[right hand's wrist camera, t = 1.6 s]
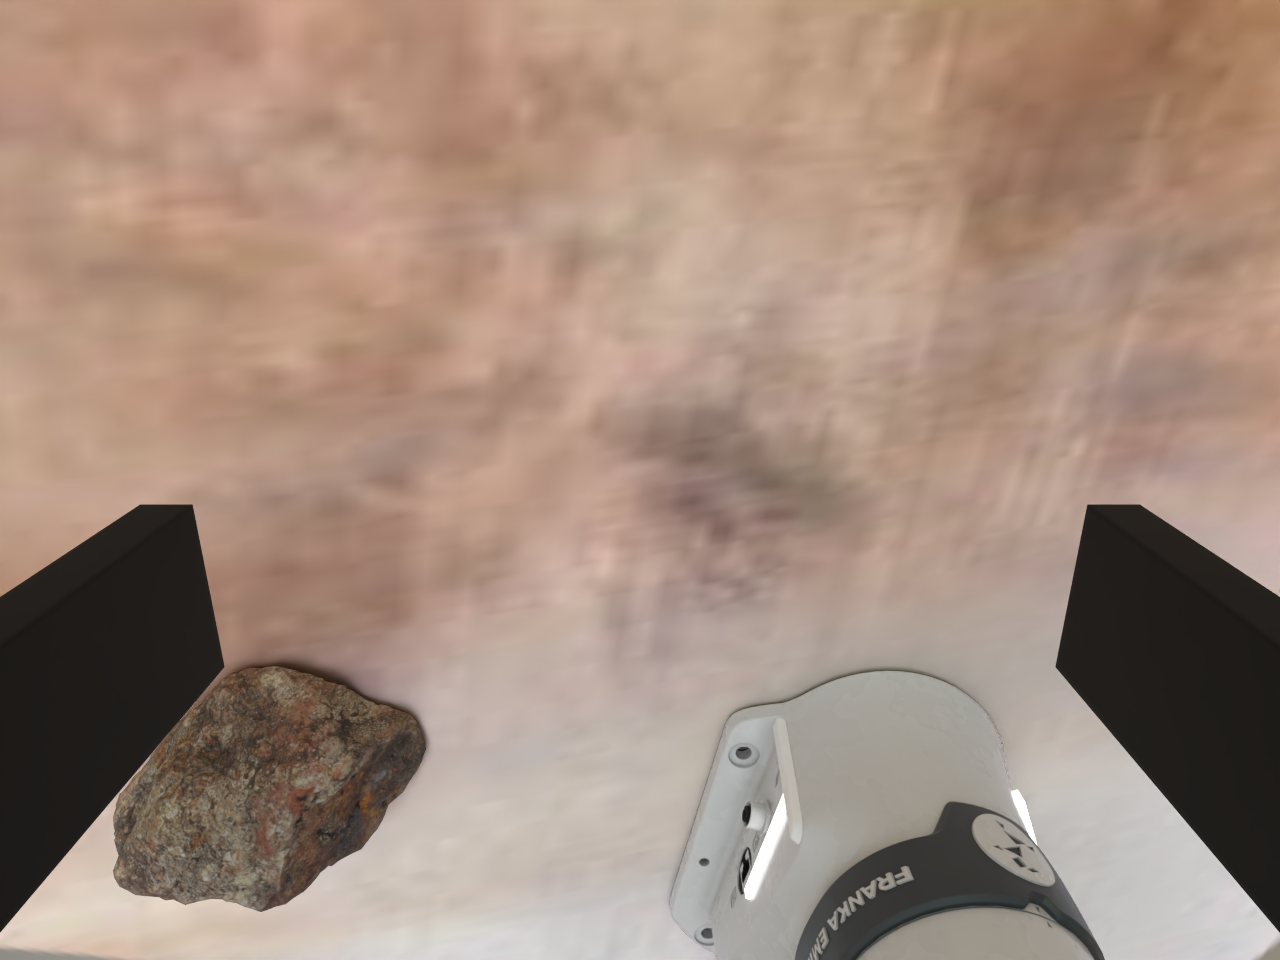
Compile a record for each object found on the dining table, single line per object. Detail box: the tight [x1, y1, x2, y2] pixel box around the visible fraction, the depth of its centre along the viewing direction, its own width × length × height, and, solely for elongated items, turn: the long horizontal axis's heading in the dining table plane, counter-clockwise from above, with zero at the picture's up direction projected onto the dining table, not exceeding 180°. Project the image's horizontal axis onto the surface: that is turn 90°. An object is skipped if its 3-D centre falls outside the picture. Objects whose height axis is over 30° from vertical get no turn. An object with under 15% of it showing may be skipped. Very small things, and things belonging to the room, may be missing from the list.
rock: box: [113, 666, 426, 912], centre depth 43 cm, size 14×9×10 cm
